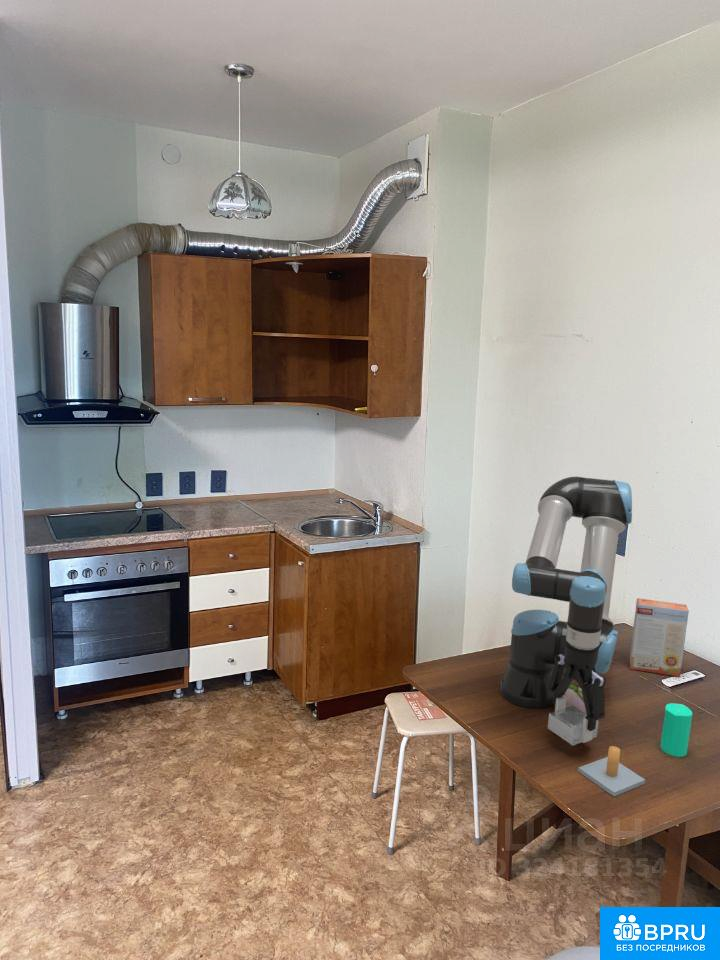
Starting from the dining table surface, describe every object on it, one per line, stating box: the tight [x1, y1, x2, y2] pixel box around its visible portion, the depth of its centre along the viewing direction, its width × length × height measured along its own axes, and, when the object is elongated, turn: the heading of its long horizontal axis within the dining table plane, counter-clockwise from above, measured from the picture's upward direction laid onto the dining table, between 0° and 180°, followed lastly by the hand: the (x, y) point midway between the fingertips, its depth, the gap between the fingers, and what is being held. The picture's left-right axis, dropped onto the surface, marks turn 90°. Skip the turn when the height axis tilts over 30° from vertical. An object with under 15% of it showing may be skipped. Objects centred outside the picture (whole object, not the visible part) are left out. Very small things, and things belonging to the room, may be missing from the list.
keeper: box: [577, 745, 646, 797], centre depth 158 cm, size 10×10×7 cm
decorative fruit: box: [563, 684, 593, 714], centre depth 181 cm, size 9×8×10 cm
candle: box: [660, 702, 693, 758], centre depth 170 cm, size 6×6×12 cm
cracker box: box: [629, 598, 690, 677], centre depth 212 cm, size 14×6×21 cm, turn 72°
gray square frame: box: [547, 706, 600, 746], centre depth 170 cm, size 8×8×4 cm
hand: (572, 731), depth 170 cm, fingers closed on gray square frame, 8 cm apart
